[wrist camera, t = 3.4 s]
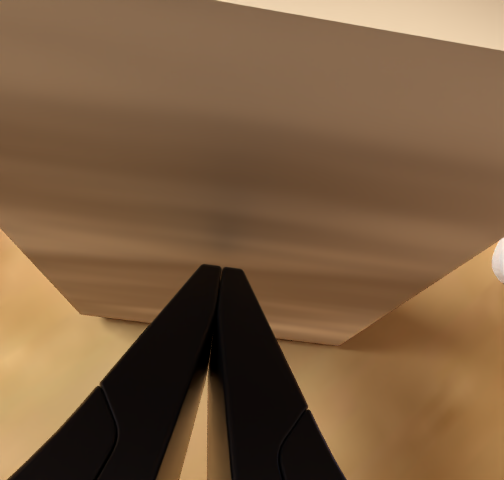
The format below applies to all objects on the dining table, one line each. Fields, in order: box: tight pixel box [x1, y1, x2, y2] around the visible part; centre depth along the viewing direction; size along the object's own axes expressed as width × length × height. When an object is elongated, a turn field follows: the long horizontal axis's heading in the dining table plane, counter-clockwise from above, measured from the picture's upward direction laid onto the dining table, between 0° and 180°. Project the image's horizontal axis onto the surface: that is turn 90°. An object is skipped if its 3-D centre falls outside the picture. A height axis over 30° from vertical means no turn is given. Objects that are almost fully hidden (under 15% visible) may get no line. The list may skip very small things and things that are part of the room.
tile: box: [0, 0, 504, 346], centre depth 10 cm, size 2×9×12 cm, turn 83°
